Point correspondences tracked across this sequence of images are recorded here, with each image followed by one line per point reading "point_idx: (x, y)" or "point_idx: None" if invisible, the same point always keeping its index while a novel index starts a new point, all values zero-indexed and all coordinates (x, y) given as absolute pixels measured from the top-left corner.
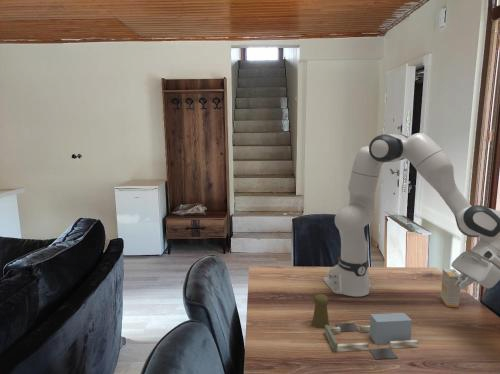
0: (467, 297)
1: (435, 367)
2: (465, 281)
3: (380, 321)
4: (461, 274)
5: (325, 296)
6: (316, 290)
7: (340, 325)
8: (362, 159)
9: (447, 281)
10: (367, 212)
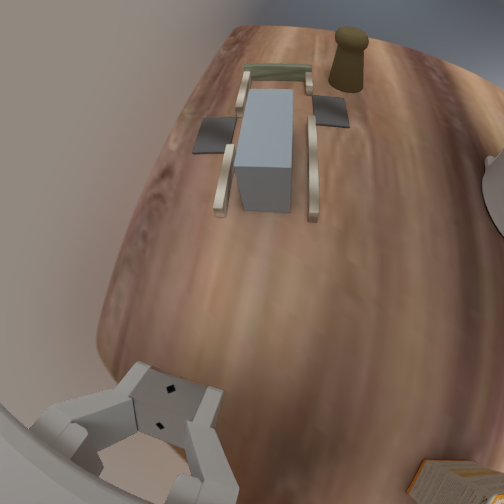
0: None
1: (139, 213)
2: (77, 399)
3: (249, 95)
4: (200, 497)
5: (351, 33)
6: (484, 134)
7: (337, 102)
8: None
9: (483, 484)
10: None
